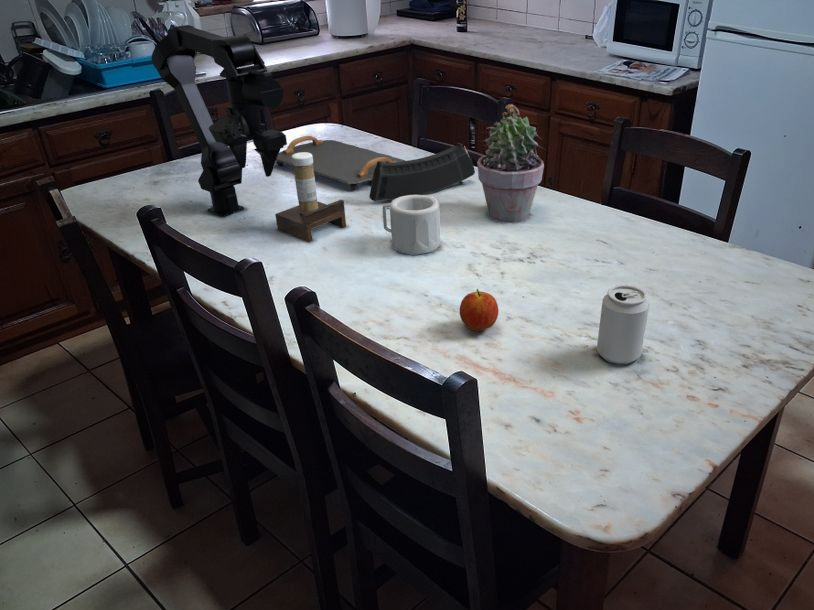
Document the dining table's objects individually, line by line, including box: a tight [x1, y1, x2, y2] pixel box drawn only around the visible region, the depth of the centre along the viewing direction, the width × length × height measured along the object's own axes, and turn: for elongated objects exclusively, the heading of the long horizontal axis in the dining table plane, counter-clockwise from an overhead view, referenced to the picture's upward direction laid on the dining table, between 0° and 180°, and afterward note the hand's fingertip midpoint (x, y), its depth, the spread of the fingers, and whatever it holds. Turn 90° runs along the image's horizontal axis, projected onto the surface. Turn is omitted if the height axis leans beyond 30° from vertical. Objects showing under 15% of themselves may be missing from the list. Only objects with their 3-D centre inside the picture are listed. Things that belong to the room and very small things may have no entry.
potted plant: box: [477, 103, 548, 224], centre depth 164 cm, size 18×20×25 cm
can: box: [596, 284, 650, 365], centre depth 116 cm, size 8×8×12 cm
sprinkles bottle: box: [292, 152, 318, 214], centre depth 159 cm, size 5×5×13 cm
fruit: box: [459, 288, 499, 332], centre depth 125 cm, size 7×7×8 cm
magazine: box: [368, 142, 476, 202], centre depth 181 cm, size 17×3×30 cm
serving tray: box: [275, 135, 406, 192], centre depth 198 cm, size 39×23×6 cm, turn 51°
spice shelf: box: [274, 199, 347, 243], centre depth 163 cm, size 11×12×6 cm
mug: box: [382, 195, 441, 255], centre depth 154 cm, size 14×11×10 cm
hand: (255, 172), depth 159 cm, fingers open, 9 cm apart
